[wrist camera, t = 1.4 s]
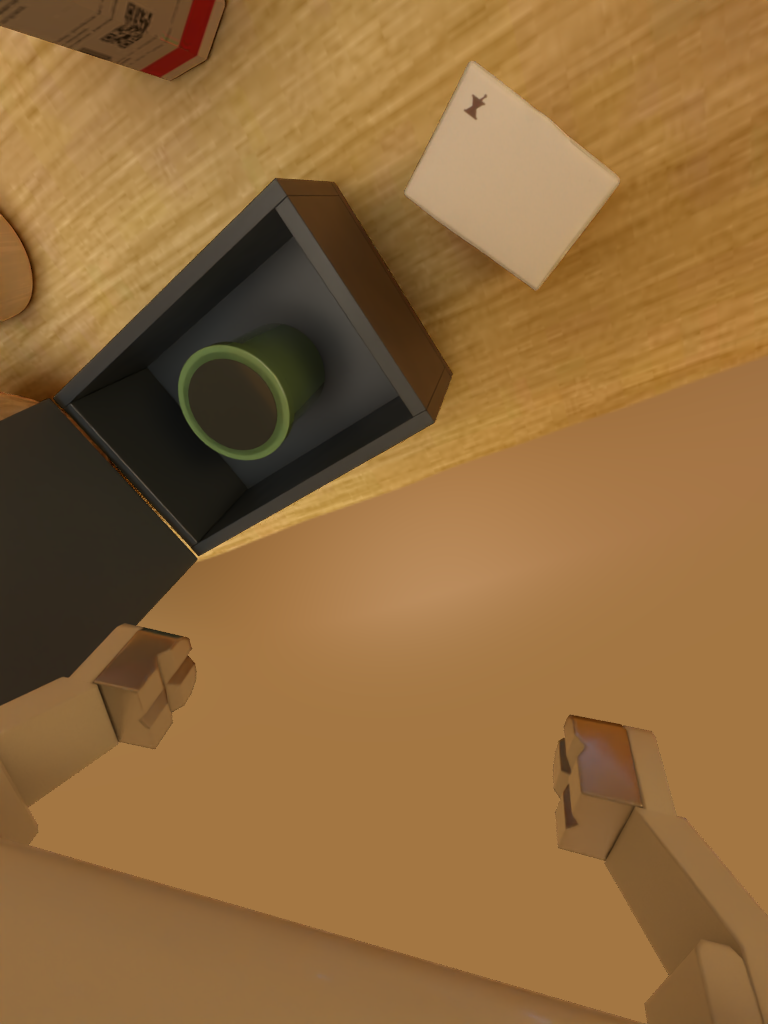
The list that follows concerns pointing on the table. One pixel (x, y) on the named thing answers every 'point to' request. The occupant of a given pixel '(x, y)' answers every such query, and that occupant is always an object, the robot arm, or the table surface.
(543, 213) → the cosmetic box
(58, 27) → the spray bottle
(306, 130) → the table surface
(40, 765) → the robot arm
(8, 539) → the lid
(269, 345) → the green pot
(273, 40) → the table surface
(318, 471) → the open dark gray box
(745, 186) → the table surface
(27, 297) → the ramekin
